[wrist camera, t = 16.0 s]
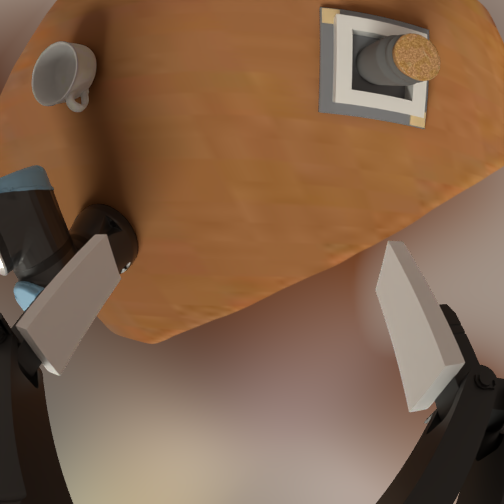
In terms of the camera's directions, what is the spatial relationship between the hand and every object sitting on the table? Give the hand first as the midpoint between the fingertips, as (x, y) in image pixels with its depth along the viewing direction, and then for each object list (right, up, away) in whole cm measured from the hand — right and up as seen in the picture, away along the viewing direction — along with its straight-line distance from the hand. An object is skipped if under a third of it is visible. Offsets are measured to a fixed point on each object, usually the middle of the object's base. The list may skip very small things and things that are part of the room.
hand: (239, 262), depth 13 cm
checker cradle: (+18, +26, +18) cm, 36 cm away
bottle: (+17, +26, +17) cm, 35 cm away
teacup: (-28, +30, +23) cm, 47 cm away
